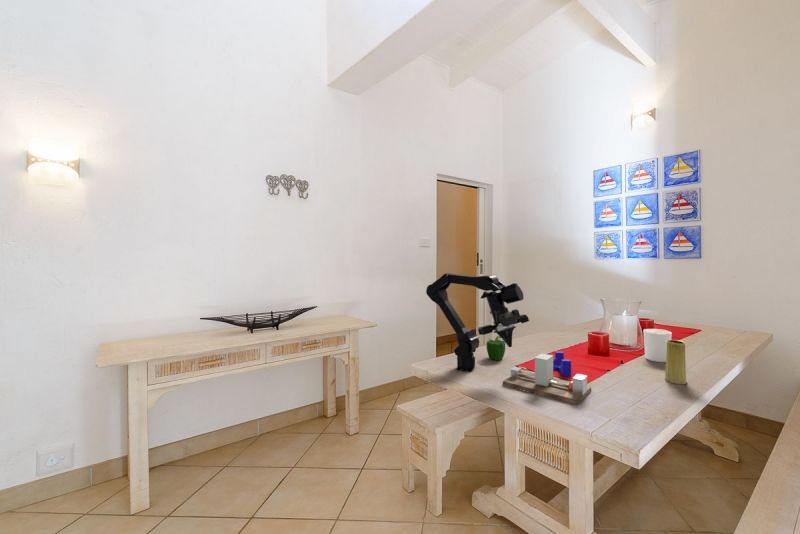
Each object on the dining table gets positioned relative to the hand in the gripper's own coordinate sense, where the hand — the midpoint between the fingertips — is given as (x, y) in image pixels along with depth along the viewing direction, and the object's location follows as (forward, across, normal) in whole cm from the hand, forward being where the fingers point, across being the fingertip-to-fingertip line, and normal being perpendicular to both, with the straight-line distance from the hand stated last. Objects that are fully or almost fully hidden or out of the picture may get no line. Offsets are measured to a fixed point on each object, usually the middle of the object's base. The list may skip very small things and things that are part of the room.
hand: (510, 346), depth 131 cm
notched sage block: (+14, +4, -8) cm, 17 cm away
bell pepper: (+7, +2, +26) cm, 27 cm away
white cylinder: (+25, +66, +11) cm, 71 cm away
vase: (+27, +50, -11) cm, 58 cm away
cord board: (+15, +4, -8) cm, 18 cm away
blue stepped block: (+16, +20, +6) cm, 26 cm away
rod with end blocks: (+15, +5, -9) cm, 18 cm away
